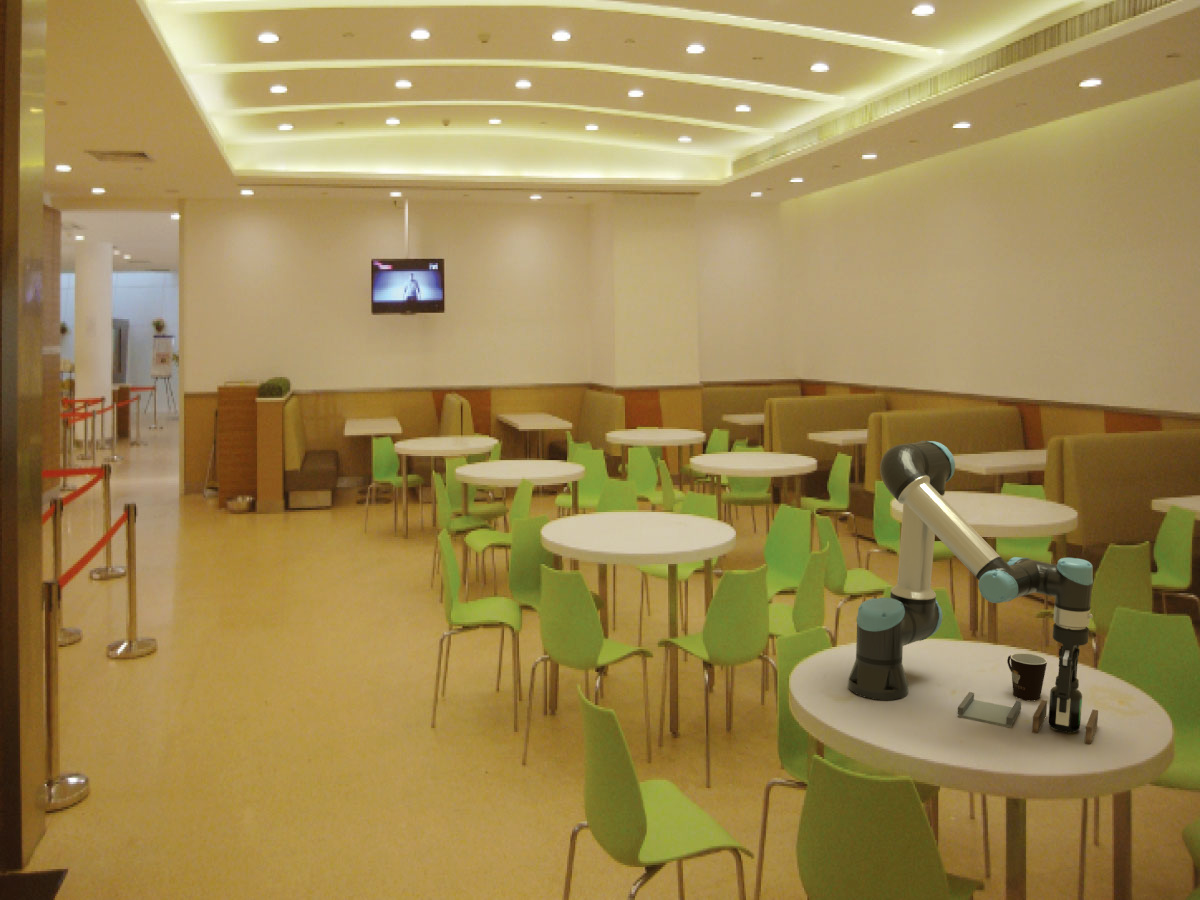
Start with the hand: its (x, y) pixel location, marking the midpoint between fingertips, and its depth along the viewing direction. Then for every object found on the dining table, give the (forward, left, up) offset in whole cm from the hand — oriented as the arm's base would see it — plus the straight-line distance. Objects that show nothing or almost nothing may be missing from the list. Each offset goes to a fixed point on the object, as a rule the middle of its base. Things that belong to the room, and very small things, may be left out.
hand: (1064, 718), depth 232 cm
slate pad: (-17, 0, -3) cm, 17 cm away
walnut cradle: (0, 0, -3) cm, 3 cm away
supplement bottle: (0, 0, -2) cm, 2 cm away
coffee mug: (-12, +19, -3) cm, 22 cm away
